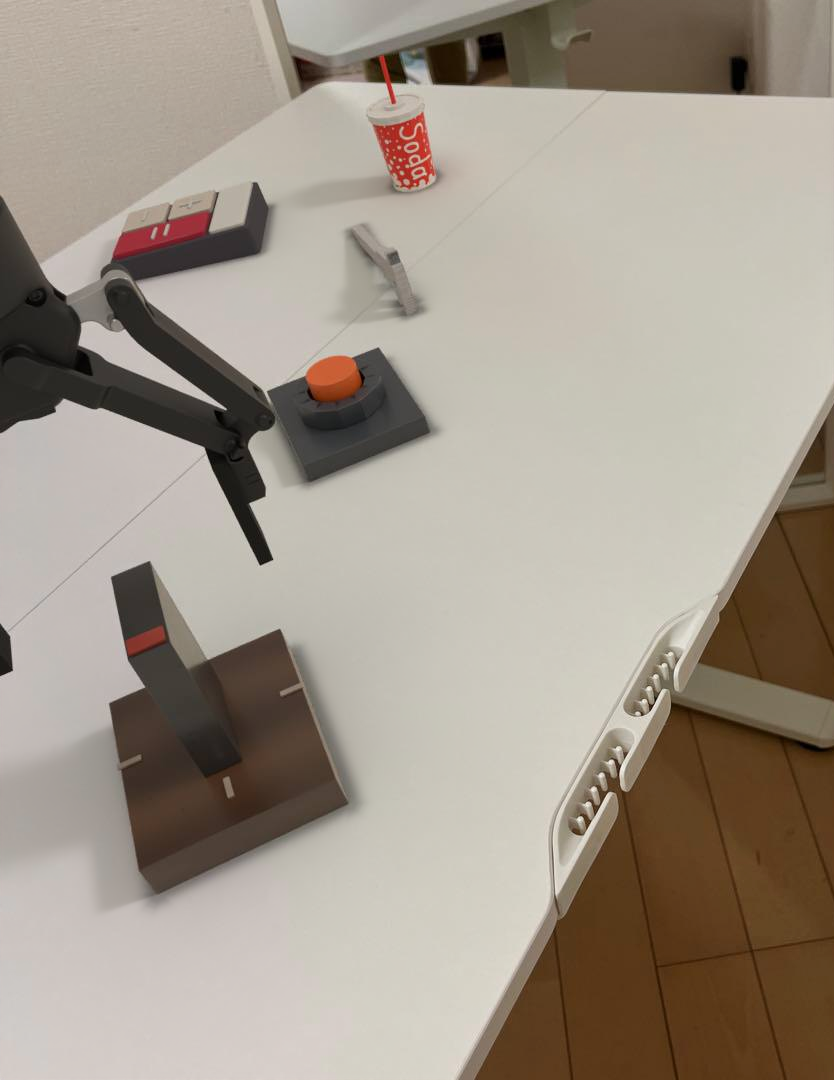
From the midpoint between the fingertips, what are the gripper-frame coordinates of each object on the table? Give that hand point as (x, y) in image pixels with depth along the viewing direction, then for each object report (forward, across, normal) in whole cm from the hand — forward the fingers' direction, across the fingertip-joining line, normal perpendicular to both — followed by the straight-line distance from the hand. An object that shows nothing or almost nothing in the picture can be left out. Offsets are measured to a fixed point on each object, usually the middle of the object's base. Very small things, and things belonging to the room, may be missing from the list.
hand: (136, 601), depth 57 cm
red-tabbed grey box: (+11, 0, 0) cm, 11 cm away
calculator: (+13, +11, +70) cm, 72 cm away
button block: (+14, +16, +28) cm, 35 cm away
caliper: (+14, +26, +50) cm, 58 cm away
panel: (+14, 0, -1) cm, 14 cm away
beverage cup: (+14, +35, +66) cm, 76 cm away
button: (+10, +16, +28) cm, 34 cm away
